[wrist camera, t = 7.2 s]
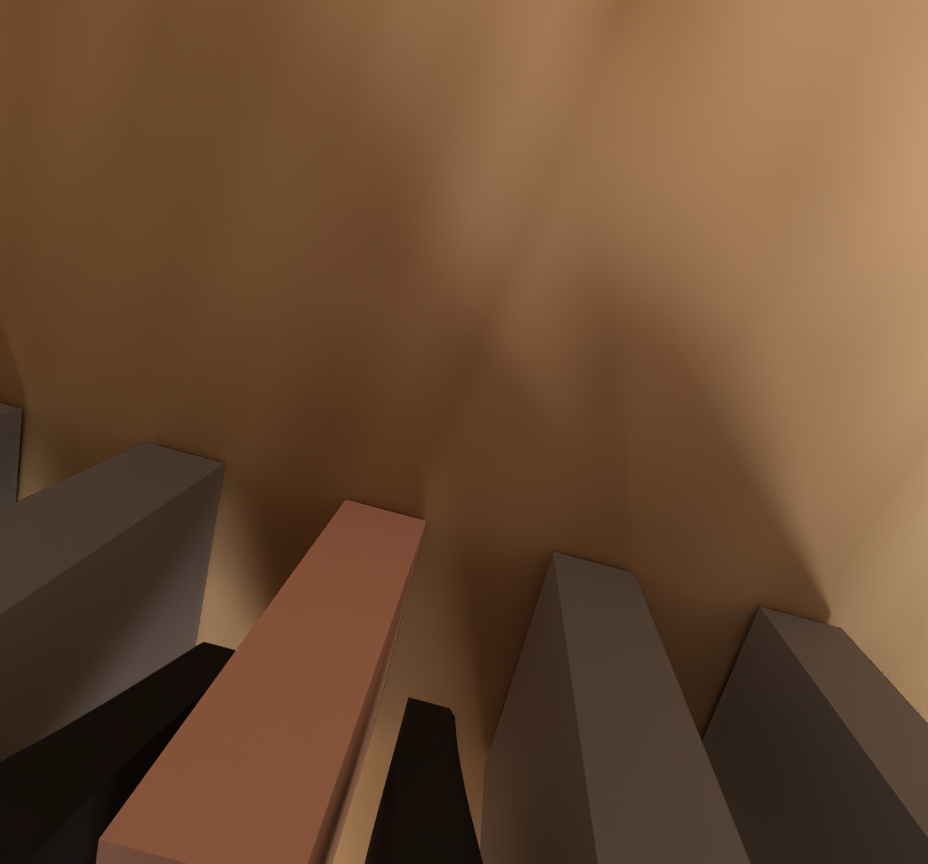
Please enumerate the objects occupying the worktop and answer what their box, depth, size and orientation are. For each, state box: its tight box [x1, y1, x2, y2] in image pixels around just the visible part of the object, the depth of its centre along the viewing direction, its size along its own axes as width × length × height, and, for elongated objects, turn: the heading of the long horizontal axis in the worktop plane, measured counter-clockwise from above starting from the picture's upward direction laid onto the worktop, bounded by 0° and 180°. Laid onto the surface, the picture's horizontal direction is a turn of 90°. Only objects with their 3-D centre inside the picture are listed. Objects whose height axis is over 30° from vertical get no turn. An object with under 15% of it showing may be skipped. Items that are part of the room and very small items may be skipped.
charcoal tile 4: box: [480, 552, 750, 864], centre depth 9 cm, size 2×5×7 cm, turn 166°
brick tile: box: [96, 500, 426, 864], centre depth 9 cm, size 2×5×7 cm, turn 166°
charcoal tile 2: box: [0, 442, 225, 761], centre depth 9 cm, size 2×5×7 cm, turn 166°
